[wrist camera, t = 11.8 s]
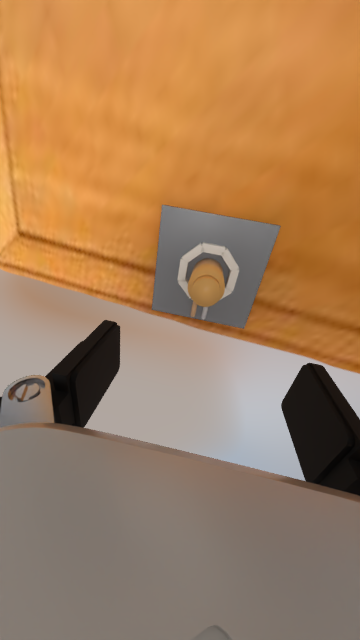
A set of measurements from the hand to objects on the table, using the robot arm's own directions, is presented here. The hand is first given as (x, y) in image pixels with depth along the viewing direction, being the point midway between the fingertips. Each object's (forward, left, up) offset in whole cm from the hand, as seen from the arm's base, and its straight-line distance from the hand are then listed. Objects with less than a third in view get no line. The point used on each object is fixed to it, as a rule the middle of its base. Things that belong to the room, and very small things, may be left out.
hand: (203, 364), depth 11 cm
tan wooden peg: (0, +1, -19) cm, 19 cm away
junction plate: (0, +1, -20) cm, 20 cm away
